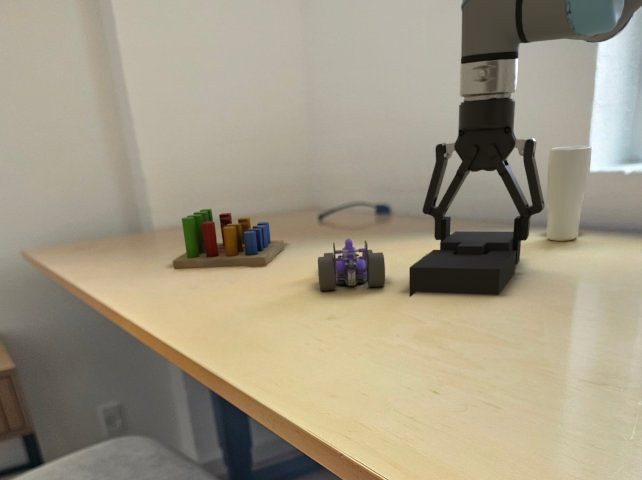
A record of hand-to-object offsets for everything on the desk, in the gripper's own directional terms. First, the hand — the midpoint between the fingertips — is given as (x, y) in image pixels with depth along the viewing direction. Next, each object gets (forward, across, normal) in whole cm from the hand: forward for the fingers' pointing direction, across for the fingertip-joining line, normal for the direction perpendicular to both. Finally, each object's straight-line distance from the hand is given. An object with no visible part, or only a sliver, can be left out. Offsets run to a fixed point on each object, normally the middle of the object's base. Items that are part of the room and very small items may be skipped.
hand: (479, 262), depth 100 cm
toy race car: (+2, -18, -9) cm, 20 cm away
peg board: (+2, -48, +5) cm, 48 cm away
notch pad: (+1, 0, -11) cm, 11 cm away
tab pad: (0, 0, -1) cm, 1 cm away
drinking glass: (+1, +9, +26) cm, 28 cm away
